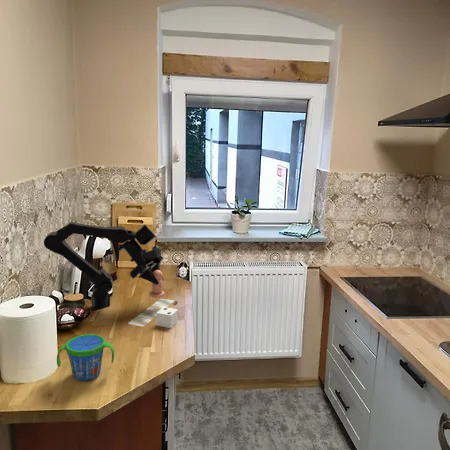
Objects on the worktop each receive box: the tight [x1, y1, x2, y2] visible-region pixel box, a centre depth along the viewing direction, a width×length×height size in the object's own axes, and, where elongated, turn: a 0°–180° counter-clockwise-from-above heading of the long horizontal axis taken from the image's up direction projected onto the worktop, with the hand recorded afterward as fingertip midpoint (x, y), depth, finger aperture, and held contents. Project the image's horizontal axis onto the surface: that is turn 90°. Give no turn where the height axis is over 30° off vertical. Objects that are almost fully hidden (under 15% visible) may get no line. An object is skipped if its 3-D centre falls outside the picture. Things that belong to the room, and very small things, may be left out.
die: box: [155, 307, 179, 329], centre depth 146 cm, size 6×6×6 cm
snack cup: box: [56, 333, 115, 382], centre depth 112 cm, size 16×10×10 cm
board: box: [127, 297, 178, 328], centre depth 156 cm, size 28×9×1 cm, turn 163°
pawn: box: [149, 269, 165, 299], centre depth 157 cm, size 6×6×10 cm
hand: (160, 282), depth 157 cm, fingers closed on pawn, 4 cm apart
